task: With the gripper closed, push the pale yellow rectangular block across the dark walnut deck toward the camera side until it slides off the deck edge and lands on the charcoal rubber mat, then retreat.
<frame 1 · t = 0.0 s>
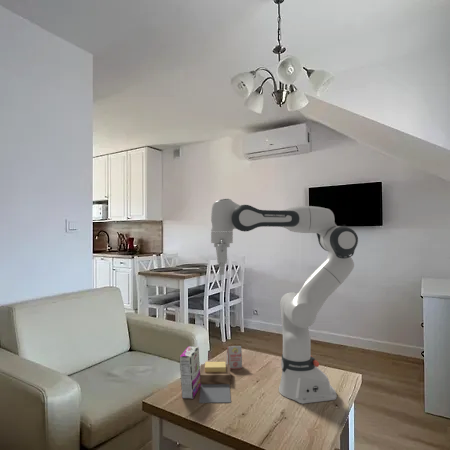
hand: (221, 272, 132), 48 cm above the table, fingers open, 8 cm apart
candy bar box: (191, 392, 130), on the table, touching mat
mat: (215, 393, 130), on the table
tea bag: (234, 367, 155), on the table
deck: (215, 378, 143), on the table
pale yellow rectangular block: (215, 369, 143), point 4 cm above the table, touching deck
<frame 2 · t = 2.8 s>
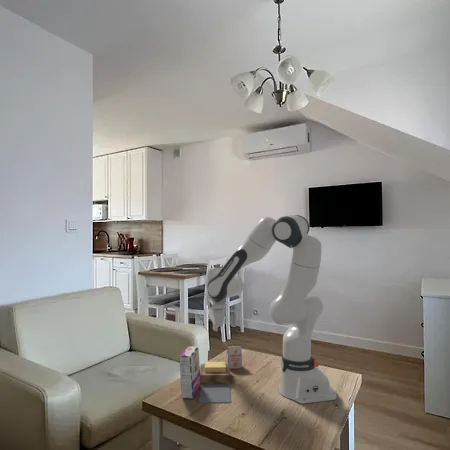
hand: (215, 330, 153), 18 cm above the table, fingers closed
nothing on the table moved.
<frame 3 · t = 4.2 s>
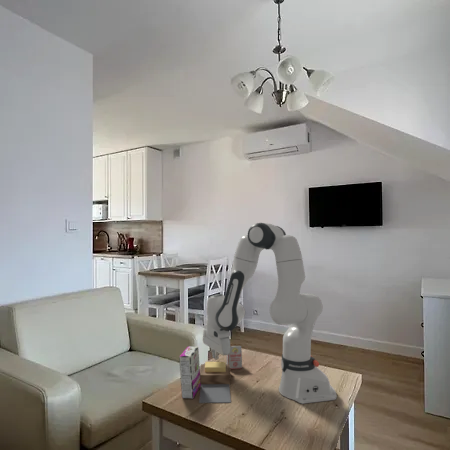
hand: (215, 358, 152), 5 cm above the table, fingers closed
nothing on the table moved.
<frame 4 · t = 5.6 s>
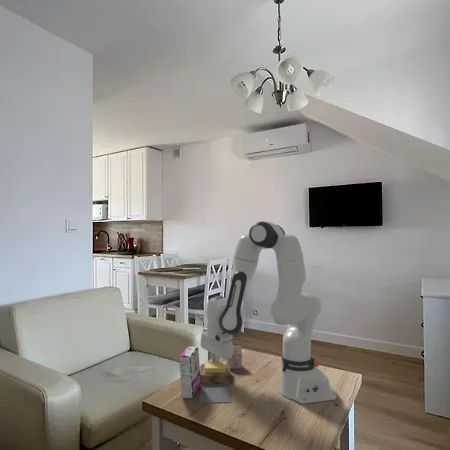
hand: (215, 363, 147), 5 cm above the table, fingers closed
pale yellow rectangular block: (215, 369, 142), point 4 cm above the table, touching gripper
everything else where it was.
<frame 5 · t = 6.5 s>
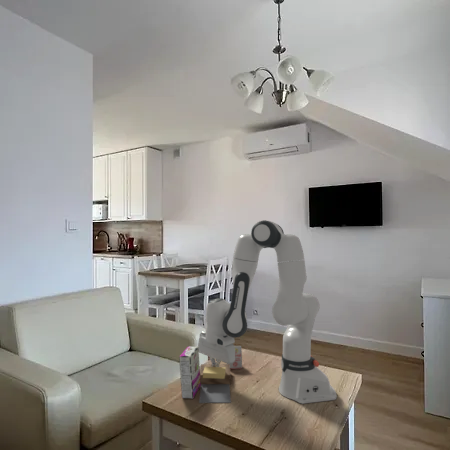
hand: (215, 367, 142), 5 cm above the table, fingers closed
pale yellow rectangular block: (214, 374, 137), point 4 cm above the table, touching deck, gripper
everything else where it was.
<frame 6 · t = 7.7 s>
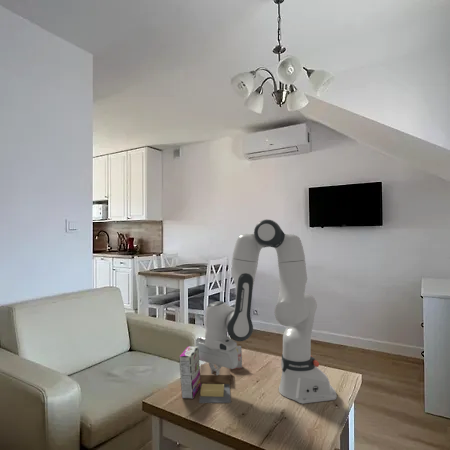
hand: (215, 374, 136), 5 cm above the table, fingers closed
pale yellow rectangular block: (212, 387, 130), point 2 cm above the table, tilted 180°, touching mat
everything else where it was.
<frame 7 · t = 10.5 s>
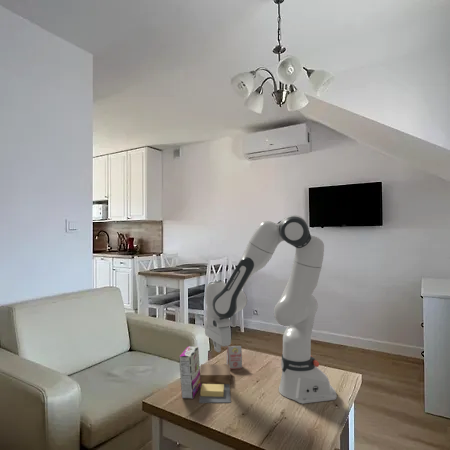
hand: (217, 351, 140), 13 cm above the table, fingers closed
nothing on the table moved.
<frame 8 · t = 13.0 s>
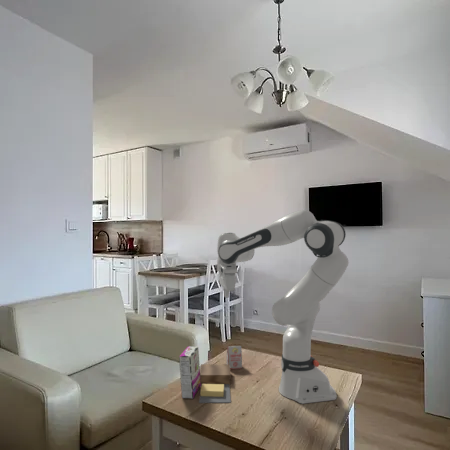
hand: (226, 297, 151), 34 cm above the table, fingers closed
nothing on the table moved.
at the end: pale yellow rectangular block point 2.3 cm above the table; pale yellow rectangular block inside the target area on the mat (1.1 cm from its centre), point 2.3 cm above the mat's base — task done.
